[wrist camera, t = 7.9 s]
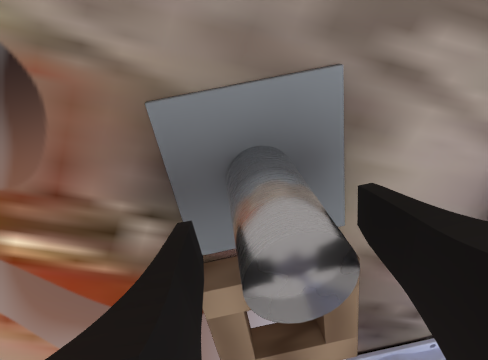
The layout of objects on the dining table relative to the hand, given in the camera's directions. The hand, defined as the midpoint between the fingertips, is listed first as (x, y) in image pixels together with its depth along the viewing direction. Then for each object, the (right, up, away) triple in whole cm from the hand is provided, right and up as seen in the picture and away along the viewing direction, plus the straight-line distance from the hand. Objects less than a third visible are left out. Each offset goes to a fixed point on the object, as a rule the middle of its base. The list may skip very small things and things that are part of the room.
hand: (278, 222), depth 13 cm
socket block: (+1, -7, +10) cm, 12 cm away
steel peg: (-1, +2, +4) cm, 5 cm away
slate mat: (-1, +2, +5) cm, 5 cm away
